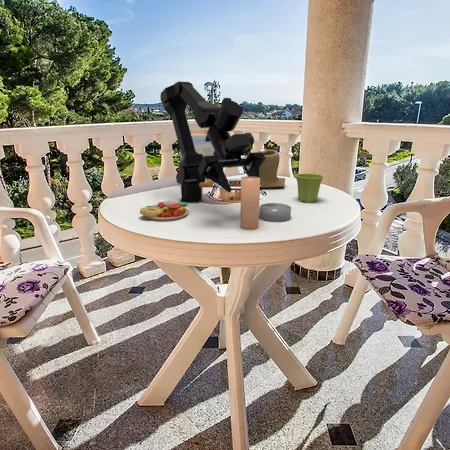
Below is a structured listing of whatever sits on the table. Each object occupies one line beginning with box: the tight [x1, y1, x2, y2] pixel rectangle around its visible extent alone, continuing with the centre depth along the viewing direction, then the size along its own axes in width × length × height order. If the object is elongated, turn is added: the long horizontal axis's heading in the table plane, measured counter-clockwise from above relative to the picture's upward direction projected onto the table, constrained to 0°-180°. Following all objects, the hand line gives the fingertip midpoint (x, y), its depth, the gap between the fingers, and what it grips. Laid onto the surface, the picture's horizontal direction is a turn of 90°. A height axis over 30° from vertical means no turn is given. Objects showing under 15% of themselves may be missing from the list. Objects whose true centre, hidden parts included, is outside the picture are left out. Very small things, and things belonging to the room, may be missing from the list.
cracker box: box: [179, 133, 215, 188], centre depth 134 cm, size 14×6×21 cm, turn 98°
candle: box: [239, 175, 261, 231], centre depth 85 cm, size 5×5×13 cm
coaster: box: [259, 202, 292, 223], centre depth 95 cm, size 9×9×3 cm
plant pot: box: [294, 173, 325, 203], centre depth 113 cm, size 9×9×9 cm
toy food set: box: [139, 200, 189, 222], centre depth 97 cm, size 13×13×3 cm
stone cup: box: [257, 149, 286, 189], centre depth 132 cm, size 15×12×15 cm
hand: (245, 189), depth 86 cm, fingers open, 9 cm apart
